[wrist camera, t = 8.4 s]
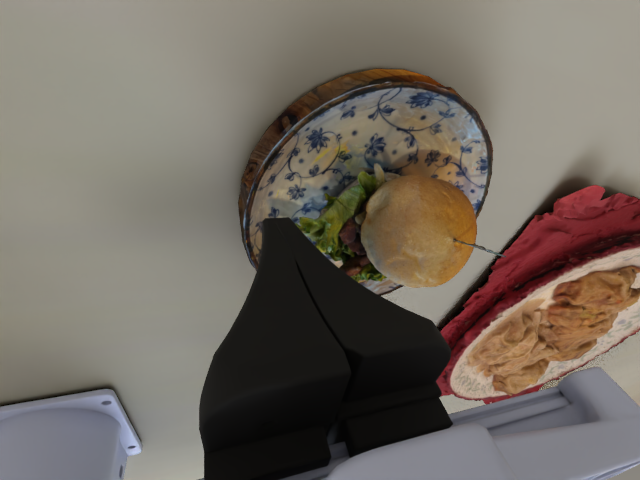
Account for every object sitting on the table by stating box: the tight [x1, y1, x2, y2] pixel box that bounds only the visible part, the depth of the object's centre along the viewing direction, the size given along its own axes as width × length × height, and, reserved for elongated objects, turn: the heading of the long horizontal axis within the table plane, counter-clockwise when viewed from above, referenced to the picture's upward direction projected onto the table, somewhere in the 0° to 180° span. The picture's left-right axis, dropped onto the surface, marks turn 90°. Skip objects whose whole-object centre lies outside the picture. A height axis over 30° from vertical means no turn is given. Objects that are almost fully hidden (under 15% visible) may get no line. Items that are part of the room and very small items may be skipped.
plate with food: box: [436, 185, 640, 404], centre depth 29 cm, size 24×26×4 cm
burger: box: [238, 69, 506, 296], centre depth 13 cm, size 12×12×8 cm
